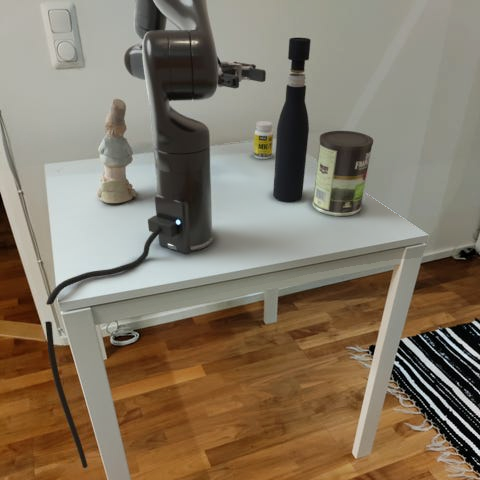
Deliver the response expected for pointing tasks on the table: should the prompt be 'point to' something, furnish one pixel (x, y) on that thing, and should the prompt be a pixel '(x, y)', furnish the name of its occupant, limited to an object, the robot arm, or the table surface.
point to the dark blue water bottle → (292, 128)
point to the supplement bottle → (263, 140)
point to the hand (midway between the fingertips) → (251, 79)
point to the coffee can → (341, 172)
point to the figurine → (115, 157)
